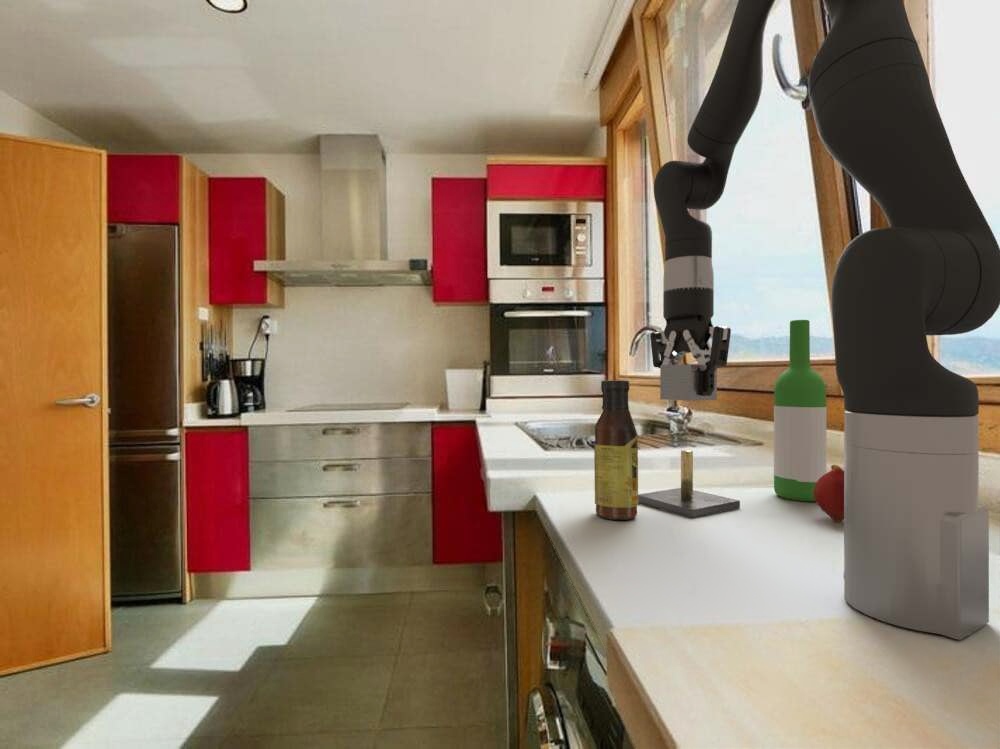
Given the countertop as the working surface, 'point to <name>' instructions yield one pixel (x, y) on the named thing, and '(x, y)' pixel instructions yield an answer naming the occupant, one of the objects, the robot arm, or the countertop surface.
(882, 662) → the countertop surface
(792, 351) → the wine bottle
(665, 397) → the collar
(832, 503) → the onion
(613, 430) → the sauce bottle
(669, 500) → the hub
